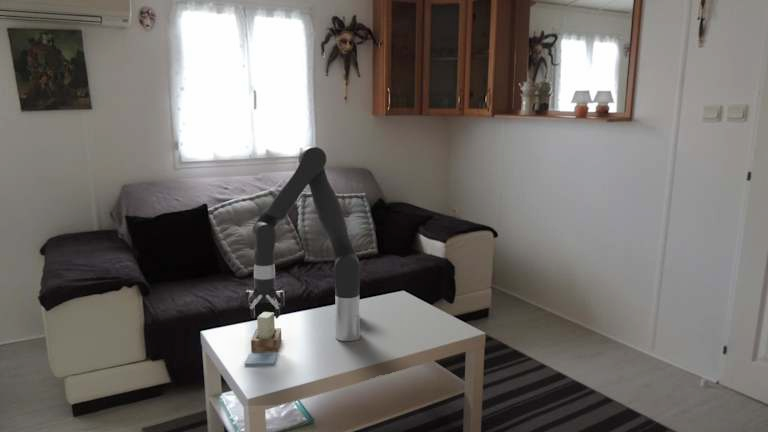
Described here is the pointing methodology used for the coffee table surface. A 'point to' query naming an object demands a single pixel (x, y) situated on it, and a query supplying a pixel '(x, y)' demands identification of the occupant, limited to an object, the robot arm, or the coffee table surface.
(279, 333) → the pocket block
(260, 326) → the skincare box
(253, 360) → the pad
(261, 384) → the coffee table surface
